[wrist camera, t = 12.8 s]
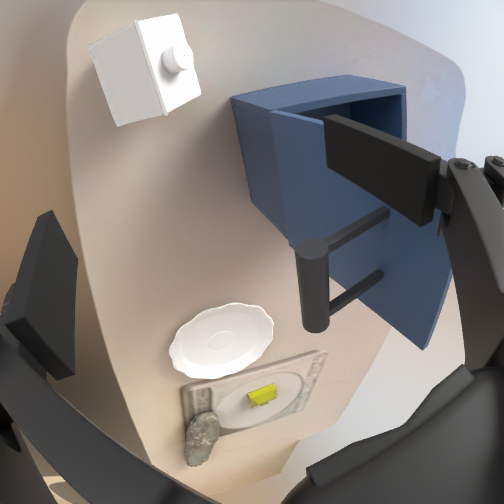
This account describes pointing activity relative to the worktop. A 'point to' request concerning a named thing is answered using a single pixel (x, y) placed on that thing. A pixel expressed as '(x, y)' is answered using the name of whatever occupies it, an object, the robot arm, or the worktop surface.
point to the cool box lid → (355, 240)
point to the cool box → (313, 106)
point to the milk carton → (145, 69)
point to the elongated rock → (201, 438)
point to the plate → (221, 341)
